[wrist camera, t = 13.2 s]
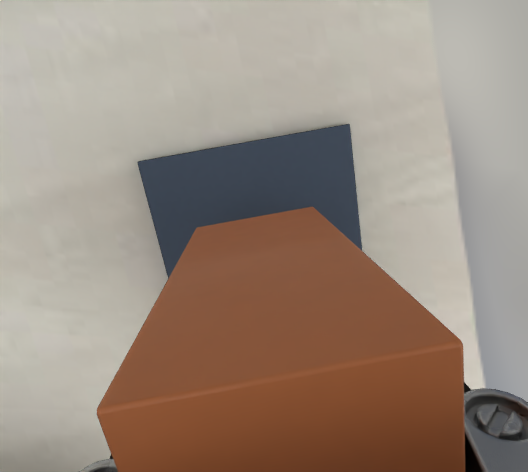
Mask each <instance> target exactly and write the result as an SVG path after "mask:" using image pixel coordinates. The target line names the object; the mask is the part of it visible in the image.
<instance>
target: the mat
mask: <svg viewBox="0 0 528 472" xmlns="http://www.w3.org/2000/svg"><path fill="white" fill-rule="evenodd" d="M138 167H139V170H140V174H141V178H142V182H143V185H144V189H145V193H146V197H147V200H148V204H149V208H150V212H151V215H152V219H153V223H154V226H155V230H156V234H157V238H158V241H159V245H160V249H161V253H162V256H163V260H164V264H165V268H166V271H167V275H168V279H169V277H170V275H171V273H172V271H173V270H174V268H175V266H176V264H177V262H178V260H179V259H180V257H181V255H182V253H183V251H184V250H185V248H186V246H187V244H188V242H189V240H190V239H191V237H192V235H193V233H194V231H195V230H196V228H197V227H203V226H208V225H214V224H219V223H225V222H230V221H236V220H241V219H247V218H252V217H258V216H263V215H269V214H274V213H280V212H285V211H291V210H296V209H302V208H307V207H314V208H315V209H316V210H317V211H318V212H319V213H321V214H322V215H323V216H324V217H325V218H326V219H327V220H328V221H329V222H330V223H332V224H333V225H334V226H335V227H336V228H337V229H338V230H339V231H340V232H342V233H343V234H344V235H345V236H346V237H347V238H348V239H349V240H350V241H351V242H353V243H354V244H355V245H356V246H357V247H358V248H359V249H360V250H361V251H362V245H361V235H360V225H359V215H358V204H357V194H356V184H355V174H354V164H353V154H352V143H351V133H350V125H349V124H345V125H340V126H334V127H329V128H323V129H317V130H312V131H306V132H301V133H295V134H289V135H284V136H278V137H273V138H267V139H261V140H256V141H250V142H245V143H239V144H233V145H228V146H222V147H217V148H211V149H205V150H200V151H194V152H189V153H183V154H177V155H172V156H166V157H161V158H155V159H149V160H144V161H138Z"/></svg>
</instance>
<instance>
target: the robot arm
mask: <svg viewBox="0 0 528 472" xmlns="http://www.w3.org/2000/svg"><path fill="white" fill-rule="evenodd" d="M464 426H465V472H528V402H526V401H525V400H523V399H522V398H520V397H517V396H515V395H513V394H510V393H508V392H503V391H500V390H496V389H484V388H482V389H474V390H471V389H470V388H469V387H468V386H467V385H466V384H465V383H464ZM79 472H118V470H117V468H116V465H115V462H114V459H113V457H112V454H111V456H110V459H106V460H102V461H98V462H96V463H94V464H91V465H89V466H87V467H85V468H84V469H82V470H81V471H79Z"/></svg>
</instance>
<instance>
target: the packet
mask: <svg viewBox="0 0 528 472" xmlns="http://www.w3.org/2000/svg"><path fill="white" fill-rule="evenodd" d="M97 416H98V419H99V422H100V424H101V427H102V430H103V432H104V435H105V438H106V441H107V443H108V446H109V449H110V451H111V454H112V457H113V459H114V462H115V465H116V468H117V470H118V472H465V426H464V369H463V344H462V342H461V340H460V339H459V338H458V337H457V336H455V335H454V334H453V333H452V332H451V331H450V330H449V329H448V328H447V327H445V326H444V325H443V324H442V323H441V322H440V321H439V320H438V319H437V318H436V317H434V316H433V315H432V314H431V313H430V312H429V311H428V310H427V309H426V308H424V307H423V306H422V305H421V304H420V303H419V302H418V301H417V300H416V299H415V298H413V297H412V296H411V295H410V294H409V293H408V292H407V291H406V290H405V289H403V288H402V287H401V286H400V285H399V284H398V283H397V282H396V281H395V280H393V279H392V278H391V277H390V276H389V275H388V274H387V273H386V272H385V271H384V270H382V269H381V268H380V267H379V266H378V265H377V264H376V263H375V262H374V261H372V260H371V259H370V258H369V257H368V256H367V255H366V254H365V253H364V252H363V251H361V250H360V249H359V248H358V247H357V246H356V245H355V244H354V243H353V242H351V241H350V240H349V239H348V238H347V237H346V236H345V235H344V234H343V233H342V232H340V231H339V230H338V229H337V228H336V227H335V226H334V225H333V224H332V223H330V222H329V221H328V220H327V219H326V218H325V217H324V216H323V215H322V214H321V213H319V212H318V211H317V210H316V209H315V208H314V207H307V208H302V209H296V210H291V211H285V212H280V213H274V214H269V215H263V216H258V217H252V218H247V219H241V220H236V221H230V222H225V223H219V224H214V225H208V226H203V227H197V228H196V230H195V231H194V233H193V235H192V237H191V239H190V240H189V242H188V244H187V246H186V248H185V250H184V251H183V253H182V255H181V257H180V259H179V260H178V262H177V264H176V266H175V268H174V270H173V271H172V273H171V275H170V277H169V279H168V280H167V282H166V284H165V286H164V288H163V290H162V291H161V293H160V295H159V297H158V299H157V301H156V302H155V304H154V306H153V308H152V310H151V311H150V313H149V315H148V317H147V319H146V321H145V322H144V324H143V326H142V328H141V330H140V331H139V333H138V335H137V337H136V339H135V341H134V342H133V344H132V346H131V348H130V350H129V351H128V353H127V355H126V357H125V359H124V361H123V362H122V364H121V366H120V368H119V370H118V371H117V373H116V375H115V377H114V379H113V381H112V382H111V384H110V386H109V388H108V390H107V392H106V393H105V395H104V397H103V399H102V401H101V402H100V404H99V406H98V408H97Z"/></svg>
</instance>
